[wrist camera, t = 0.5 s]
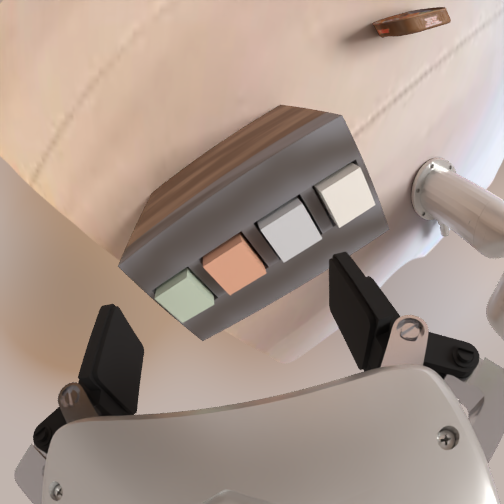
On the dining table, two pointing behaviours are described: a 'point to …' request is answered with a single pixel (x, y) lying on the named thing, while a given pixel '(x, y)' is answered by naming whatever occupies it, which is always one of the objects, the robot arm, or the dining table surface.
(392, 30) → the tin
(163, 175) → the dining table surface
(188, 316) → the sage key
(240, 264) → the terracotta key
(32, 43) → the dining table surface
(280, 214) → the grey key
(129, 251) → the console
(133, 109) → the dining table surface
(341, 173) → the cream key
